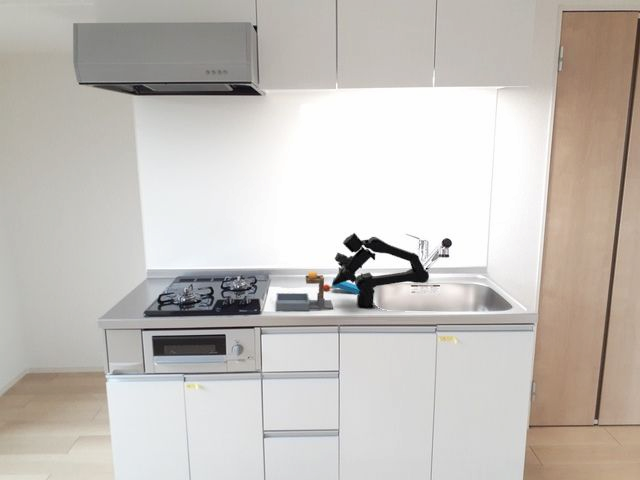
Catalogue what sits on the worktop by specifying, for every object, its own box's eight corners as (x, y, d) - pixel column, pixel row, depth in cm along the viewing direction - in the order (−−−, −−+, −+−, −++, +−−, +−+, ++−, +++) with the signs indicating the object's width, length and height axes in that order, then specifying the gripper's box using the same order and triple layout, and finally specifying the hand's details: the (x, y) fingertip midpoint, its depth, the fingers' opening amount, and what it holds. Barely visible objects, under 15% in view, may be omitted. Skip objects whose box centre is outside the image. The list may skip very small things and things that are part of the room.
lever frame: (330, 302, 210) (331, 292, 209) (333, 309, 200) (333, 299, 199) (308, 302, 209) (309, 292, 208) (310, 309, 199) (310, 299, 198)
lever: (357, 299, 230) (322, 288, 231) (361, 286, 229) (327, 275, 230) (356, 303, 224) (321, 292, 224) (361, 290, 222) (325, 278, 223)
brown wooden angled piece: (322, 298, 207) (322, 274, 205) (323, 303, 201) (324, 279, 199) (305, 298, 207) (305, 274, 205) (305, 303, 200) (306, 278, 198)
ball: (317, 278, 204) (316, 269, 203) (318, 280, 200) (317, 271, 199) (308, 279, 204) (307, 270, 203) (309, 281, 200) (308, 273, 199)
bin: (307, 300, 211) (307, 293, 210) (309, 311, 197) (309, 303, 196) (276, 300, 210) (276, 293, 209) (276, 311, 196) (276, 303, 195)
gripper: (343, 242, 210) (318, 266, 211) (349, 251, 191) (322, 277, 192) (359, 259, 212) (335, 283, 213) (367, 269, 193) (340, 295, 194)
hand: (333, 284), depth 203 cm, fingers closed
